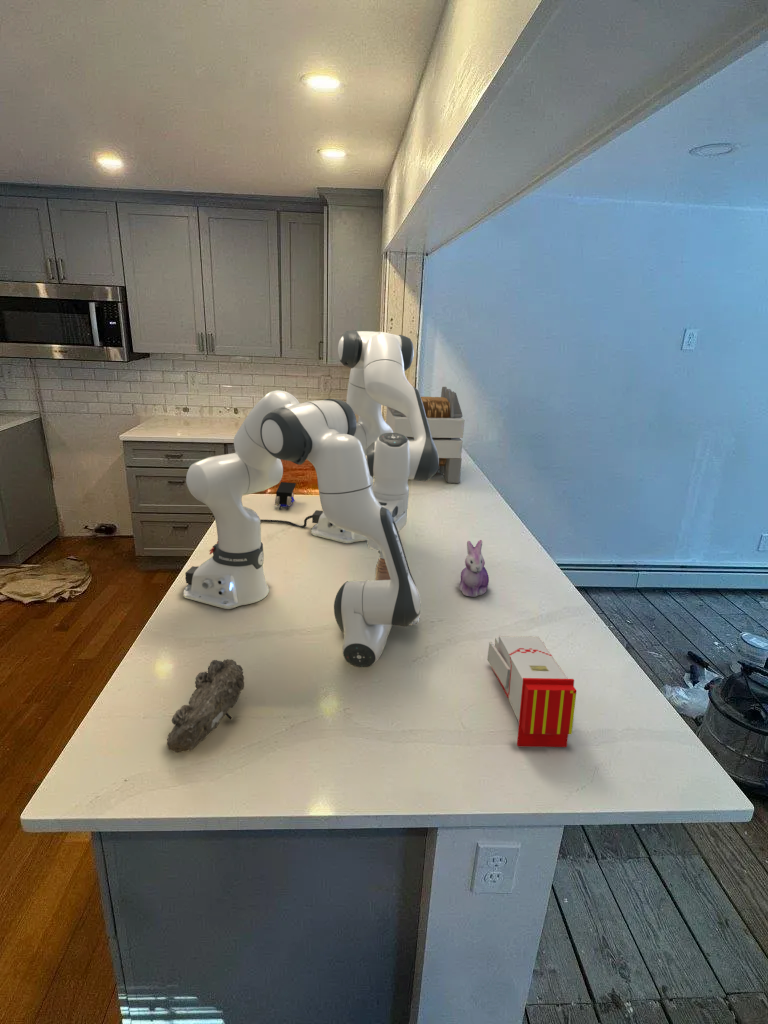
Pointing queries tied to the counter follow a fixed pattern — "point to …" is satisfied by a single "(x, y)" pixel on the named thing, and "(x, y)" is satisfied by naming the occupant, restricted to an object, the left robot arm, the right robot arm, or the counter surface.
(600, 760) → the counter surface
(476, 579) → the figurine
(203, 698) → the fossil
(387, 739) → the counter surface
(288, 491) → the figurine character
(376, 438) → the right robot arm
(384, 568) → the bottle
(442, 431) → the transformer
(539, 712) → the toy
